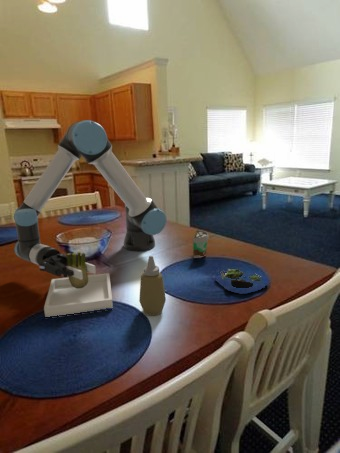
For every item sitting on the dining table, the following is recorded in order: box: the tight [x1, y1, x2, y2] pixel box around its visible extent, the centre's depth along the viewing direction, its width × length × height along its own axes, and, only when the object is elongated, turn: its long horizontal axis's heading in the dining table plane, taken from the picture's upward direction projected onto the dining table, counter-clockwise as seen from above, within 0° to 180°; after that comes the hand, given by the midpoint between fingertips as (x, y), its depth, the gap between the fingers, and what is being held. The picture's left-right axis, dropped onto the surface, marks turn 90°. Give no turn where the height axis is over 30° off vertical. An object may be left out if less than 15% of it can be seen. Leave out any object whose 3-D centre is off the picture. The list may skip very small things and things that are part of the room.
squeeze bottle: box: [138, 255, 167, 316], centre depth 97 cm, size 8×8×18 cm
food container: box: [192, 229, 210, 257], centre depth 142 cm, size 12×6×10 cm, turn 168°
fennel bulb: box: [66, 251, 89, 289], centre depth 106 cm, size 6×5×12 cm
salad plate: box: [220, 268, 261, 288], centre depth 118 cm, size 19×18×5 cm
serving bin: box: [43, 272, 114, 317], centre depth 108 cm, size 20×20×4 cm
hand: (88, 272), depth 102 cm, fingers closed on fennel bulb, 4 cm apart
